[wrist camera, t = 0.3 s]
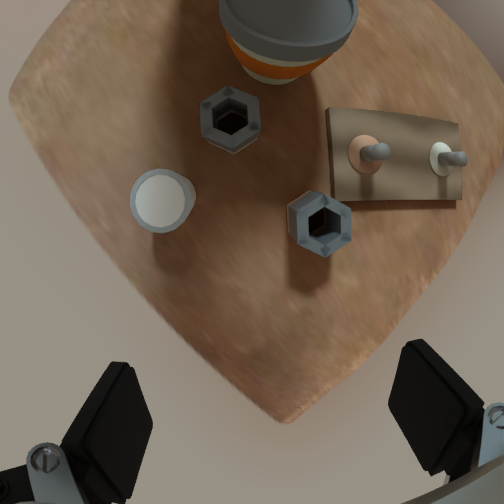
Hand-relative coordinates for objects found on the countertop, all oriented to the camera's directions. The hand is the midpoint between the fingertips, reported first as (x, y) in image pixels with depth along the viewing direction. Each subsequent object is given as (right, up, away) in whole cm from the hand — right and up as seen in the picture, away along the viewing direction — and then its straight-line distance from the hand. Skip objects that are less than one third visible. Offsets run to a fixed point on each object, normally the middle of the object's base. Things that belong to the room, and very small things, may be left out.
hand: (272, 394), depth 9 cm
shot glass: (-10, +12, +27) cm, 31 cm away
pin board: (+20, +18, +26) cm, 37 cm away
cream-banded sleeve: (-3, +20, +24) cm, 32 cm away
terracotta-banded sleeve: (+7, +9, +28) cm, 30 cm away
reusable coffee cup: (+2, +30, +22) cm, 38 cm away
